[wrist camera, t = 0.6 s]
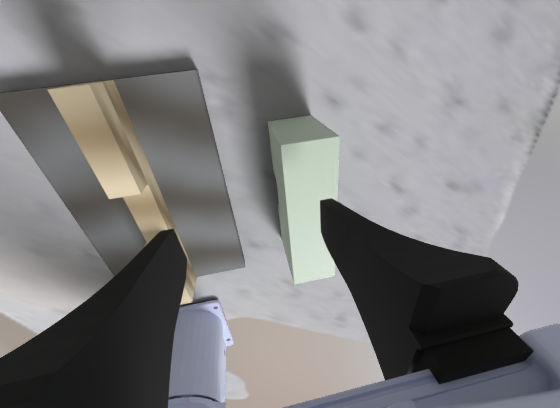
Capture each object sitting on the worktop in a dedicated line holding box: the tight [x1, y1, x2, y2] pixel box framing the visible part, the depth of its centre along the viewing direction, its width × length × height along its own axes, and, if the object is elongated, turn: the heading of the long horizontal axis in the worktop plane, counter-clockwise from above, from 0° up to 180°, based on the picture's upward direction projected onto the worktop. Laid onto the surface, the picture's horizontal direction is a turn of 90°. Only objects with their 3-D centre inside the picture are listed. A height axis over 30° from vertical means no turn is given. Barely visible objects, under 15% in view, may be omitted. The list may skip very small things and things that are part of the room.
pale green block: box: [267, 115, 340, 284], centre depth 19 cm, size 12×4×6 cm, turn 6°
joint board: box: [0, 69, 245, 305], centre depth 19 cm, size 18×12×4 cm, turn 6°
